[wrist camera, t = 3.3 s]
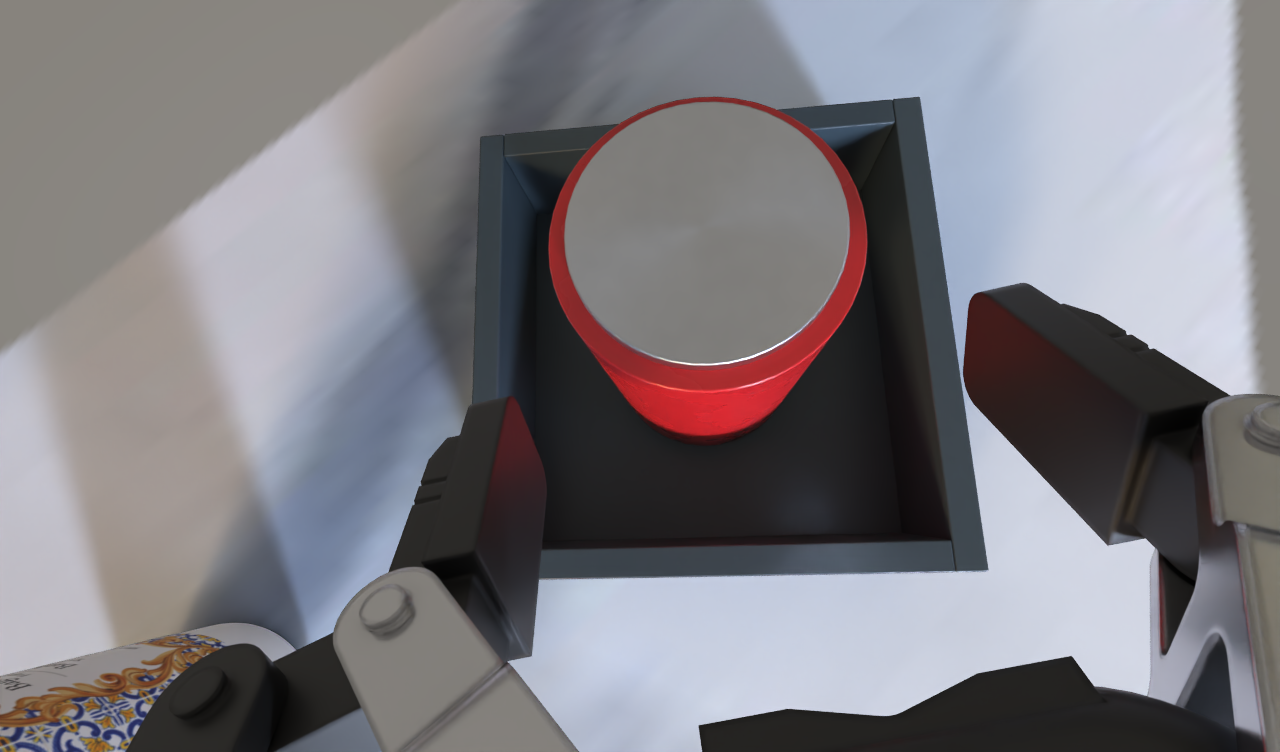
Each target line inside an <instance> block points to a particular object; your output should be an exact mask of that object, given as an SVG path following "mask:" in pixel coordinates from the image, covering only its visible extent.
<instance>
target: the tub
mask: <svg viewBox="0 0 1280 752" xmlns="http://www.w3.org/2000/svg"><path fill="white" fill-rule="evenodd" d="M778 111H780V112H782V113H784V114H786V115H789V116H791V117H792V118H794V119H796V120H797V121H799V122H800V123H802V124H804V125H805V126H807V127H808V128H809V129H811V130H812V131H813V132H814V133H815V134H817V135H818V136H819V137H820V138H822V139H823V140H824V141H825V142H826V144H827V145H828V146H829V147H830V148H831V149H832V150H833V151H834V152H835V153H836V154H837V156H838V157H839V159H840V160H841V162H842V163H843V164H844V166H845V167H846V169H847V170H848V172H849V174H850V176H851V178H852V180H853V182H854V184H855V186H856V188H857V191H858V194H859V197H860V199H861V202H862V205H863V210H864V215H865V220H866V225H867V255H866V265H865V269H864V273H863V277H862V281H861V285H860V288H859V290H858V292H857V295H856V297H855V300H854V302H853V304H852V306H851V308H850V310H849V311H848V313H847V315H846V316H845V318H844V320H843V321H842V323H841V324H840V326H839V327H838V328H837V330H836V331H835V332H834V334H833V335H832V336H831V337H830V339H829V340H828V341H827V343H826V344H825V345H824V347H823V348H822V349H821V351H820V352H819V353H818V355H817V356H816V357H815V359H814V360H813V361H812V363H811V364H810V365H809V366H808V368H807V369H806V370H805V372H804V373H803V374H802V376H801V377H800V378H799V380H798V381H797V382H796V384H795V385H794V386H793V388H792V389H791V390H790V392H789V393H788V394H787V395H786V397H785V398H784V399H783V401H782V402H781V403H780V405H779V406H778V407H777V409H776V410H775V411H774V412H773V414H772V415H771V416H770V417H769V418H768V419H767V420H766V421H765V422H764V423H763V424H762V425H761V426H760V427H758V428H757V429H756V430H754V431H753V432H751V433H749V434H748V435H746V436H744V437H742V438H740V439H737V440H734V441H732V442H728V443H724V444H719V445H710V446H701V445H691V444H685V443H681V442H678V441H675V440H672V439H670V438H668V437H665V436H663V435H662V434H660V433H658V432H657V431H655V430H654V429H652V428H651V427H650V426H649V425H647V424H646V423H645V422H644V421H643V420H642V419H641V418H640V417H639V416H638V415H637V413H636V412H635V411H634V409H633V408H632V407H631V405H630V404H629V402H628V401H627V400H626V398H625V397H624V396H623V394H622V393H621V392H620V390H619V389H618V387H617V386H616V385H615V383H614V382H613V381H612V379H611V378H610V377H609V375H608V374H607V372H606V371H605V370H604V368H603V367H602V366H601V364H600V363H599V362H598V360H597V359H596V358H595V356H594V355H593V353H592V352H591V351H590V349H589V348H588V347H587V345H586V344H585V343H584V341H583V340H582V338H581V337H580V336H579V334H578V333H577V332H576V330H575V329H574V327H573V326H572V325H571V323H570V322H569V320H568V318H567V316H566V314H565V313H564V311H563V309H562V307H561V305H560V303H559V300H558V297H557V294H556V292H555V289H554V286H553V281H552V276H551V272H550V266H549V251H548V246H549V232H550V226H551V221H552V216H553V212H554V209H555V206H556V203H557V200H558V197H559V194H560V192H561V190H562V188H563V186H564V184H565V182H566V180H567V178H568V176H569V175H570V173H571V172H572V170H573V169H574V167H575V166H576V164H577V163H578V161H579V160H580V159H581V158H582V157H583V155H584V154H585V153H586V152H587V151H588V150H589V149H590V148H591V146H592V145H594V144H595V143H596V142H597V141H598V140H599V139H600V138H601V137H602V136H604V135H605V134H606V133H607V132H609V131H610V130H611V129H613V128H614V127H616V126H617V125H619V124H614V125H603V126H592V127H581V128H570V129H559V130H547V131H536V132H525V133H514V134H505V136H504V135H495V136H484V137H481V138H480V168H479V200H478V232H477V264H476V296H475V328H474V360H473V392H472V404H475V403H480V402H484V401H489V400H493V399H498V398H502V397H507V396H513V397H514V398H515V399H516V401H517V402H518V404H519V407H520V409H521V411H522V414H523V416H524V419H525V421H526V424H527V426H528V429H529V431H530V434H531V436H532V439H533V441H534V444H535V446H536V449H537V451H538V454H539V456H540V459H541V461H542V465H543V468H544V472H545V478H546V486H547V497H546V508H545V519H544V529H543V540H542V551H541V562H540V572H539V580H549V579H604V578H660V577H716V576H772V575H828V574H884V573H940V572H987V571H988V564H987V557H986V550H985V544H984V537H983V530H982V523H981V516H980V509H979V502H978V495H977V488H976V481H975V475H974V468H973V461H972V454H971V447H970V440H969V433H968V426H967V419H966V413H965V406H964V399H963V392H962V385H961V378H960V371H959V364H958V357H957V350H956V344H955V337H954V330H953V323H952V316H951V309H950V302H949V295H948V288H947V281H946V275H945V268H944V261H943V254H942V247H941V240H940V233H939V226H938V219H937V212H936V206H935V199H934V192H933V185H932V178H931V171H930V164H929V157H928V150H927V144H926V137H925V130H924V123H923V116H922V109H921V102H920V97H913V98H902V99H893V101H892V100H880V101H869V102H858V103H847V104H836V105H825V106H814V107H803V108H792V109H781V110H778Z"/></svg>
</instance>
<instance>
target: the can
mask: <svg viewBox="0 0 1280 752" xmlns="http://www.w3.org/2000/svg"><path fill="white" fill-rule="evenodd" d="M548 251H549V266H550V272H551V276H552V281H553V286H554V289H555V292H556V294H557V297H558V300H559V303H560V305H561V307H562V309H563V311H564V313H565V314H566V316H567V318H568V320H569V322H570V323H571V325H572V326H573V327H574V329H575V330H576V332H577V333H578V334H579V336H580V337H581V338H582V340H583V341H584V343H585V344H586V345H587V347H588V348H589V349H590V351H591V352H592V353H593V355H594V356H595V358H596V359H597V360H598V362H599V363H600V364H601V366H602V367H603V368H604V370H605V371H606V372H607V374H608V375H609V377H610V378H611V379H612V381H613V382H614V383H615V385H616V386H617V387H618V389H619V390H620V392H621V393H622V394H623V396H624V397H625V398H626V400H627V401H628V402H629V404H630V405H631V407H632V408H633V409H634V411H635V412H636V413H637V415H638V416H639V417H640V418H641V419H642V420H643V421H644V422H645V423H646V424H647V425H649V426H650V427H651V428H652V429H654V430H655V431H657V432H658V433H660V434H662V435H663V436H665V437H668V438H670V439H672V440H675V441H678V442H681V443H685V444H691V445H701V446H710V445H719V444H724V443H728V442H732V441H734V440H737V439H740V438H742V437H744V436H746V435H748V434H749V433H751V432H753V431H754V430H756V429H757V428H758V427H760V426H761V425H762V424H763V423H764V422H765V421H766V420H767V419H768V418H769V417H770V416H771V415H772V414H773V412H774V411H775V410H776V409H777V407H778V406H779V405H780V403H781V402H782V401H783V399H784V398H785V397H786V395H787V394H788V393H789V392H790V390H791V389H792V388H793V386H794V385H795V384H796V382H797V381H798V380H799V378H800V377H801V376H802V374H803V373H804V372H805V370H806V369H807V368H808V366H809V365H810V364H811V363H812V361H813V360H814V359H815V357H816V356H817V355H818V353H819V352H820V351H821V349H822V348H823V347H824V345H825V344H826V343H827V341H828V340H829V339H830V337H831V336H832V335H833V334H834V332H835V331H836V330H837V328H838V327H839V326H840V324H841V323H842V321H843V320H844V318H845V316H846V315H847V313H848V311H849V310H850V308H851V306H852V304H853V302H854V300H855V297H856V295H857V292H858V290H859V288H860V285H861V281H862V277H863V273H864V269H865V265H866V255H867V225H866V220H865V215H864V210H863V205H862V202H861V199H860V197H859V194H858V191H857V188H856V186H855V184H854V182H853V180H852V178H851V176H850V174H849V172H848V170H847V169H846V167H845V166H844V164H843V163H842V162H841V160H840V159H839V157H838V156H837V154H836V153H835V152H834V151H833V150H832V149H831V148H830V147H829V146H828V145H827V144H826V142H825V141H824V140H823V139H822V138H820V137H819V136H818V135H817V134H815V133H814V132H813V131H812V130H811V129H809V128H808V127H807V126H805V125H804V124H802V123H800V122H799V121H797V120H796V119H794V118H792V117H791V116H789V115H786V114H784V113H782V112H780V111H778V110H776V109H774V108H771V107H768V106H765V105H762V104H758V103H755V102H751V101H746V100H741V99H736V98H724V97H697V98H690V99H683V100H676V101H673V102H669V103H665V104H662V105H658V106H655V107H653V108H650V109H648V110H645V111H643V112H640V113H638V114H636V115H634V116H632V117H631V118H629V119H627V120H625V121H623V122H621V123H620V124H619V125H617V126H616V127H614V128H613V129H611V130H610V131H609V132H607V133H606V134H605V135H604V136H602V137H601V138H600V139H599V140H598V141H597V142H596V143H595V144H594V145H592V146H591V148H590V149H589V150H588V151H587V152H586V153H585V154H584V155H583V157H582V158H581V159H580V160H579V161H578V163H577V164H576V166H575V167H574V169H573V170H572V172H571V173H570V175H569V176H568V178H567V180H566V182H565V184H564V186H563V188H562V190H561V192H560V194H559V197H558V200H557V203H556V206H555V209H554V212H553V216H552V221H551V226H550V232H549V246H548Z"/></svg>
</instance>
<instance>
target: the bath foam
mask: <svg viewBox="0 0 1280 752" xmlns="http://www.w3.org/2000/svg"><path fill="white" fill-rule="evenodd" d="M240 643H248V644H252V645H255V646H257V647H259V648H260V649H261V650H262V651H263V652H264V653H265V654H266V655H267V656H268V657H269V659H270V660H271V661H272V662H273V661H275V660H277V659H280V658H282V657H284V656H286V655H288V654H290V653H292V652H294V651H296V650H295V648H294V647H293V646H292V645H291V644H290V643H288V642H287V641H286V640H285V639H284V638H282V637H281V636H279V635H278V634H276V633H274V632H272V631H270V630H268V629H266V628H263V627H260V626H257V625H253V624H247V623H224V624H217V625H212V626H208V627H203V628H199V629H195V630H191V631H187V632H183V633H178V634H174V635H168V636H164V637H160V638H156V639H151V640H147V641H143V642H139V643H135V644H131V645H127V646H123V647H118V648H114V649H110V650H106V651H102V652H98V653H94V654H90V655H85V656H81V657H77V658H73V659H69V660H65V661H61V662H57V663H52V664H48V665H44V666H40V667H36V668H32V669H28V670H24V671H19V672H15V673H11V674H7V675H3V676H0V752H125V751H126V750H127V748H128V746H129V744H130V743H131V741H132V739H133V738H134V736H135V734H136V732H137V731H138V729H139V727H140V725H141V724H142V722H143V720H144V718H145V717H146V715H147V713H148V711H149V710H150V708H151V707H152V705H153V704H154V702H155V701H156V700H157V698H158V697H159V696H160V694H161V693H162V692H163V691H164V690H165V689H166V688H167V687H168V685H169V684H170V683H171V682H172V681H173V680H174V679H175V678H177V677H178V676H179V675H180V674H181V673H182V672H183V671H185V670H186V669H187V668H188V667H190V666H191V665H192V664H194V663H195V662H197V661H198V660H200V659H201V658H203V657H205V656H207V655H208V654H210V653H212V652H214V651H216V650H219V649H221V648H224V647H227V646H230V645H234V644H240Z"/></svg>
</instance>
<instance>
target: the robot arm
mask: <svg viewBox="0 0 1280 752" xmlns="http://www.w3.org/2000/svg"><path fill="white" fill-rule="evenodd" d="M963 377H964V383H965V387H966V390H967V393H968V395H969V397H970V399H971V401H972V402H973V404H974V405H975V406H976V407H977V408H978V409H979V410H980V411H981V412H982V413H983V414H984V415H985V417H986V418H987V419H988V420H989V421H990V422H991V423H992V424H993V425H994V426H995V427H996V428H997V429H998V430H999V431H1000V432H1001V433H1002V434H1003V436H1004V437H1005V438H1006V439H1007V440H1008V441H1009V442H1010V443H1011V444H1012V445H1013V446H1014V447H1015V448H1016V449H1017V450H1018V451H1019V452H1020V453H1021V455H1022V456H1023V457H1024V458H1025V459H1026V460H1027V461H1028V462H1029V463H1030V464H1031V465H1032V466H1033V467H1034V468H1035V469H1036V470H1037V471H1038V472H1039V474H1040V475H1041V476H1042V477H1043V478H1044V479H1045V480H1046V481H1047V482H1048V483H1049V484H1050V485H1051V486H1052V487H1053V488H1054V489H1055V490H1056V491H1057V492H1058V494H1059V495H1060V496H1061V497H1062V498H1063V499H1064V500H1065V501H1066V502H1067V503H1068V504H1069V505H1070V506H1071V507H1072V508H1073V509H1074V510H1075V511H1076V513H1077V514H1078V515H1079V516H1080V517H1081V518H1082V519H1083V520H1084V521H1085V522H1086V523H1087V524H1088V525H1089V526H1090V527H1091V528H1092V529H1093V530H1094V532H1095V533H1096V534H1097V535H1098V536H1099V537H1100V538H1101V539H1102V540H1103V541H1104V542H1105V543H1106V544H1107V545H1113V544H1118V543H1123V542H1129V541H1134V540H1139V539H1144V538H1146V539H1147V540H1148V541H1149V542H1150V543H1151V544H1152V545H1153V546H1154V547H1155V550H1154V552H1153V555H1152V558H1151V561H1150V665H1151V667H1150V683H1149V690H1148V695H1147V696H1144V695H1141V694H1137V693H1133V692H1128V691H1122V690H1117V689H1111V688H1105V687H1094V686H1093V684H1092V683H1091V682H1090V680H1089V679H1088V678H1087V676H1086V675H1085V673H1084V672H1083V671H1082V669H1081V668H1080V667H1079V665H1078V664H1077V663H1076V661H1075V660H1074V658H1073V657H1072V656H1069V657H1064V658H1058V659H1053V660H1048V661H1042V662H1037V663H1032V664H1026V665H1021V666H1015V667H1010V668H1005V669H999V670H994V671H989V672H983V673H978V674H976V675H974V676H972V677H970V678H968V679H966V680H964V681H962V682H960V683H958V684H956V685H954V686H952V687H950V688H948V689H946V690H944V691H943V692H941V693H939V694H937V695H935V696H933V697H931V698H929V699H927V700H925V701H923V702H921V703H919V704H917V705H915V706H913V707H911V708H909V709H907V710H905V711H903V712H901V713H899V714H896V715H892V716H872V715H859V714H846V713H834V712H821V711H808V710H795V709H785V710H779V711H774V712H769V713H763V714H758V715H753V716H747V717H742V718H736V719H731V720H726V721H720V722H715V723H710V724H704V725H699V732H700V739H701V746H702V752H1280V396H1275V395H1265V394H1243V395H1234V396H1230V395H1228V394H1227V393H1225V392H1224V391H1222V390H1220V389H1219V388H1217V387H1216V386H1214V385H1212V384H1211V383H1209V382H1207V381H1206V380H1204V379H1203V378H1201V377H1199V376H1198V375H1196V374H1194V373H1193V372H1191V371H1190V370H1188V369H1186V368H1185V367H1183V366H1182V365H1180V364H1178V363H1177V362H1175V361H1173V360H1172V359H1170V358H1169V357H1167V356H1165V355H1164V354H1162V353H1160V352H1159V351H1157V350H1156V349H1149V348H1148V345H1147V344H1146V343H1144V342H1143V341H1141V340H1139V339H1138V338H1136V337H1135V336H1133V335H1127V334H1126V331H1125V330H1123V329H1122V328H1120V327H1118V326H1117V325H1115V324H1113V323H1112V322H1110V321H1109V320H1107V319H1105V318H1104V317H1102V316H1100V315H1098V314H1095V313H1092V312H1089V311H1086V310H1082V309H1079V308H1076V307H1073V306H1070V305H1066V304H1059V303H1058V302H1056V301H1055V300H1053V299H1051V298H1050V297H1048V296H1047V295H1045V294H1044V293H1042V292H1041V291H1039V290H1037V289H1036V288H1034V287H1033V286H1031V285H1029V284H1027V283H1019V284H1015V285H1010V286H1006V287H1001V288H997V289H992V290H988V291H983V292H979V293H976V294H975V295H973V297H972V298H971V300H970V303H969V308H968V318H967V330H966V342H965V354H964V366H963ZM546 497H547V486H546V478H545V472H544V468H543V465H542V461H541V459H540V456H539V454H538V451H537V449H536V446H535V444H534V441H533V439H532V436H531V434H530V431H529V429H528V426H527V424H526V421H525V419H524V416H523V414H522V411H521V409H520V407H519V404H518V402H517V401H516V399H515V398H514V397H513V396H507V397H502V398H498V399H493V400H489V401H484V402H480V403H475V404H471V405H470V406H469V408H468V410H467V414H466V417H465V420H464V423H463V427H462V430H461V433H460V435H459V436H455V437H450V438H447V439H446V440H445V441H444V442H443V443H442V445H441V446H440V447H439V448H438V449H437V451H436V452H435V453H434V454H433V455H432V457H431V458H430V459H429V460H428V463H427V466H426V469H425V472H424V474H423V477H422V480H421V486H419V488H418V491H417V494H416V497H415V500H414V502H415V505H412V508H411V511H410V513H409V516H408V519H407V522H406V525H405V527H404V530H403V533H402V536H401V539H400V541H399V544H398V547H397V550H396V553H395V555H394V558H393V561H392V564H391V567H390V569H389V572H388V573H386V574H384V575H382V576H380V577H378V578H377V579H375V580H374V581H372V582H370V583H369V584H368V585H366V586H365V587H364V588H363V589H361V590H360V591H359V592H358V593H357V594H356V595H355V596H354V597H353V598H352V599H351V600H350V602H349V603H348V604H347V605H346V607H345V608H344V609H343V611H342V612H341V614H340V616H339V618H338V620H337V622H336V625H335V628H334V632H333V633H331V634H329V635H328V636H326V637H323V638H321V639H319V640H317V641H315V642H313V643H311V644H309V645H307V646H305V647H303V648H300V649H298V650H296V651H294V652H292V653H290V654H288V655H286V656H284V657H282V658H280V659H277V660H275V661H273V662H272V661H271V660H270V659H269V657H268V656H267V655H266V654H265V653H264V652H263V651H262V650H261V649H260V648H259V647H257V646H255V645H252V644H248V643H240V644H234V645H230V646H227V647H224V648H221V649H219V650H216V651H214V652H212V653H210V654H208V655H207V656H205V657H203V658H201V659H200V660H198V661H197V662H195V663H194V664H192V665H191V666H190V667H188V668H187V669H186V670H185V671H183V672H182V673H181V674H180V675H179V676H178V677H177V678H175V679H174V680H173V681H172V682H171V683H170V684H169V685H168V687H167V688H166V689H165V690H164V691H163V692H162V693H161V694H160V696H159V697H158V698H157V700H156V701H155V702H154V704H153V705H152V707H151V708H150V710H149V711H148V713H147V715H146V717H145V718H144V720H143V722H142V724H141V725H140V727H139V729H138V731H137V732H136V734H135V736H134V738H133V739H132V741H131V743H130V744H129V746H128V748H127V750H126V751H125V752H579V751H578V750H577V749H576V747H575V746H574V745H573V744H572V742H571V741H570V740H569V738H568V737H567V736H566V735H565V733H564V732H563V731H562V729H561V728H560V727H559V726H558V724H557V723H556V722H555V720H554V719H553V718H552V717H551V715H550V714H549V713H548V711H547V710H546V709H545V708H544V706H543V705H542V704H541V702H540V701H539V700H538V699H537V697H536V696H535V695H534V693H533V692H532V691H531V690H530V688H529V687H528V686H527V684H526V683H525V682H524V681H523V679H522V678H521V677H520V676H519V674H518V673H517V672H516V671H515V669H514V668H513V667H512V666H511V665H510V664H509V663H508V662H507V661H510V660H515V659H520V658H525V657H530V656H532V647H533V637H534V626H535V615H536V604H537V594H538V583H539V572H540V562H541V551H542V540H543V529H544V519H545V508H546Z"/></svg>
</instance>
